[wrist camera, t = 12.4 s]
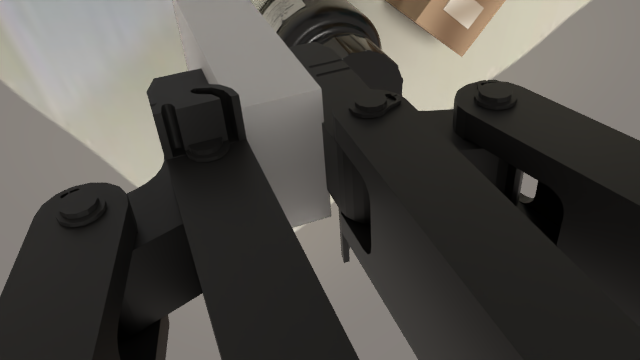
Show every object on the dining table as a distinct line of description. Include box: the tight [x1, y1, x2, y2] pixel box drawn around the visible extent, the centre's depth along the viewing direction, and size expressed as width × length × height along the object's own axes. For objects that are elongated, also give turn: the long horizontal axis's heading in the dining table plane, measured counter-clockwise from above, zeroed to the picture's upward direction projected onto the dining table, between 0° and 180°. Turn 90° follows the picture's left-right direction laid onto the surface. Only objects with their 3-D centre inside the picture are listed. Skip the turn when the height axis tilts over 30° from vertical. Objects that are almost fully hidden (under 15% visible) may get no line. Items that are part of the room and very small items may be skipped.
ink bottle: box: [261, 0, 403, 96], centre depth 45 cm, size 10×9×12 cm
